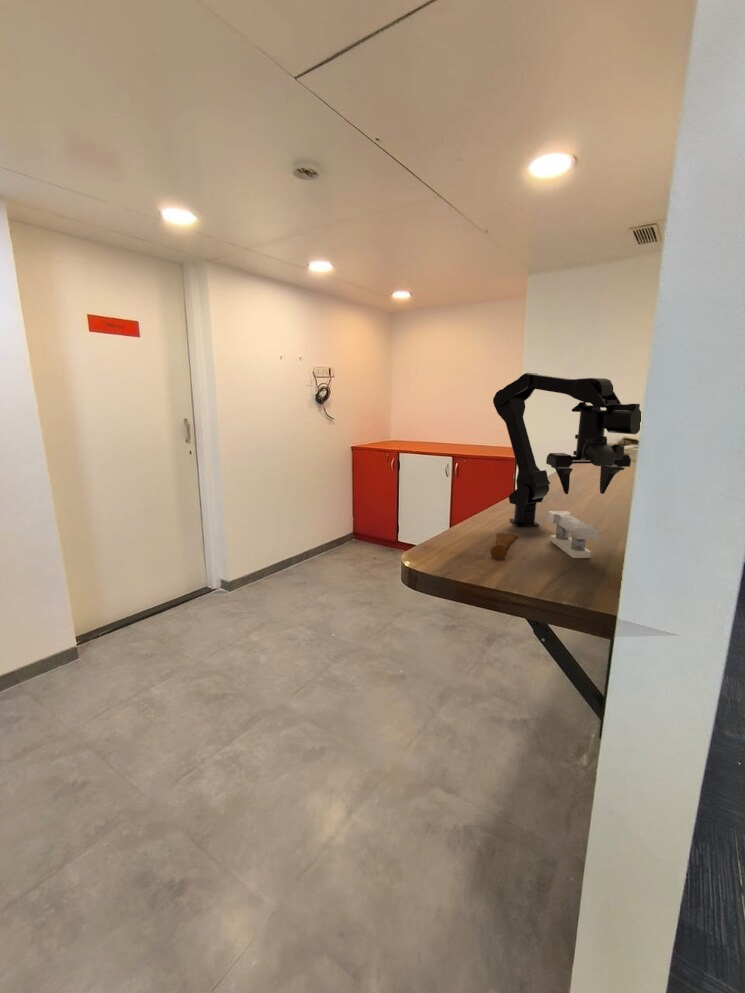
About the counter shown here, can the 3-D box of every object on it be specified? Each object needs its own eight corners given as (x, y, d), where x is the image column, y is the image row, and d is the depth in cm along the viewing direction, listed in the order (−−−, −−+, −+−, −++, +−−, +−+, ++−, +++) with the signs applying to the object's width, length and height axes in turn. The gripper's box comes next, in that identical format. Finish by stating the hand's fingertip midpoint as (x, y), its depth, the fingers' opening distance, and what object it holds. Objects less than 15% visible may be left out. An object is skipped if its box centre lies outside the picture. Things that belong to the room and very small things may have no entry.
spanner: (576, 539, 99) (577, 529, 98) (547, 520, 113) (548, 511, 113) (597, 539, 99) (598, 528, 98) (566, 520, 114) (567, 511, 113)
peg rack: (550, 540, 113) (552, 522, 112) (565, 540, 113) (567, 521, 112) (573, 558, 101) (575, 537, 100) (590, 557, 101) (592, 536, 100)
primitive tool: (496, 534, 119) (497, 522, 118) (518, 537, 117) (519, 524, 117) (489, 559, 102) (490, 545, 101) (514, 563, 100) (515, 548, 99)
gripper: (569, 434, 100) (562, 502, 103) (650, 434, 100) (640, 501, 104) (548, 430, 110) (542, 491, 114) (621, 430, 111) (613, 490, 115)
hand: (584, 493), depth 111 cm, fingers open, 9 cm apart
